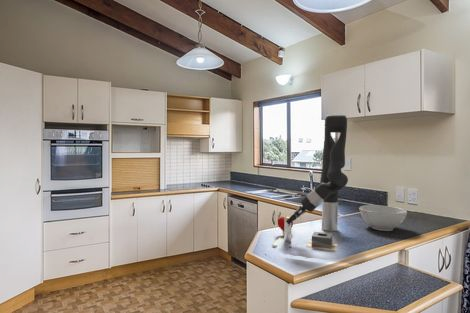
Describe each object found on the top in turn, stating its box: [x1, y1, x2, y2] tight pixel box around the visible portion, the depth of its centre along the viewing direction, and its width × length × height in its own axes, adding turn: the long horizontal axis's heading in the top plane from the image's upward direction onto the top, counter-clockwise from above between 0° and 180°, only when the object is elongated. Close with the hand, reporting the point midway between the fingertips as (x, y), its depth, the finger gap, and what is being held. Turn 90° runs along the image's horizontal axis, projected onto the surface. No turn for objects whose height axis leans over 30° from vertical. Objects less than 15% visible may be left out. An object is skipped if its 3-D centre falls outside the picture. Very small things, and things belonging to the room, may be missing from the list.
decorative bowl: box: [359, 204, 408, 232], centre depth 194 cm, size 27×27×12 cm
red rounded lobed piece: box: [277, 216, 294, 236], centre depth 176 cm, size 9×7×10 cm
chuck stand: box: [305, 231, 338, 252], centre depth 155 cm, size 14×14×6 cm
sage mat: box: [272, 237, 284, 248], centre depth 159 cm, size 14×12×1 cm
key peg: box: [283, 216, 292, 244], centre depth 159 cm, size 4×4×13 cm
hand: (289, 221), depth 159 cm, fingers open, 8 cm apart
